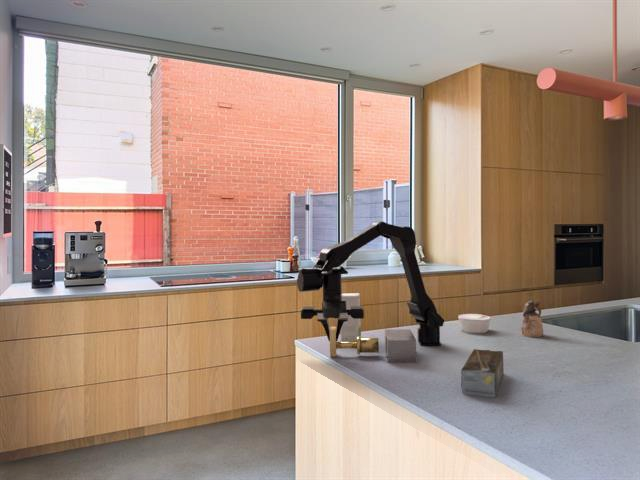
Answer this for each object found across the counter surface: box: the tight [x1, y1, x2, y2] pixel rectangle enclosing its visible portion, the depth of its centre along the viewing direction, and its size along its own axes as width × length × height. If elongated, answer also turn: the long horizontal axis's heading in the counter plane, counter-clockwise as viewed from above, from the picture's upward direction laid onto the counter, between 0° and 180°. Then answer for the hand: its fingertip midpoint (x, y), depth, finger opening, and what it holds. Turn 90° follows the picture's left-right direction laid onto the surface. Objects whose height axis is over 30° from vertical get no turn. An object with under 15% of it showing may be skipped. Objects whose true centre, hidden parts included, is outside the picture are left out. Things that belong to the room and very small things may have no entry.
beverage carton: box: [460, 349, 505, 398], centre depth 118 cm, size 8×19×7 cm, turn 154°
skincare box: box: [339, 292, 362, 342], centre depth 165 cm, size 8×7×16 cm
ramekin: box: [457, 313, 492, 334], centre depth 175 cm, size 11×11×5 cm
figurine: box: [520, 300, 544, 338], centre depth 166 cm, size 7×7×12 cm
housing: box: [384, 328, 417, 364], centre depth 143 cm, size 8×14×6 cm, turn 176°
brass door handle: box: [329, 326, 380, 357], centre depth 144 cm, size 14×5×8 cm, turn 86°
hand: (333, 340), depth 144 cm, fingers closed on brass door handle, 2 cm apart
